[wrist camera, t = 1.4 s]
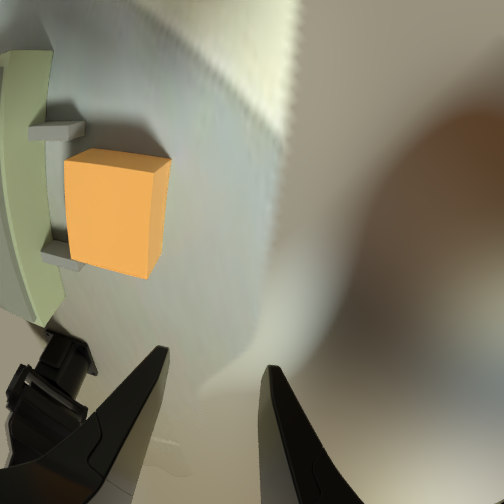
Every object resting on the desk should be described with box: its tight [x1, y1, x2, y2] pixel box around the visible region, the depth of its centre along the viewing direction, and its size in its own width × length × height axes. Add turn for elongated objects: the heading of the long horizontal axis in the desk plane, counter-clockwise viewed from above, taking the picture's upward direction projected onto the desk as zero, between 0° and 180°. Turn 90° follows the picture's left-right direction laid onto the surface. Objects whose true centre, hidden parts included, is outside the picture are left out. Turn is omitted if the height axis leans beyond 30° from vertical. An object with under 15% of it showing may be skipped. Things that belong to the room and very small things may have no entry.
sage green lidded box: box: [0, 50, 86, 328], centre depth 15 cm, size 22×10×5 cm, turn 168°
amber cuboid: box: [64, 148, 172, 279], centre depth 16 cm, size 7×6×4 cm
